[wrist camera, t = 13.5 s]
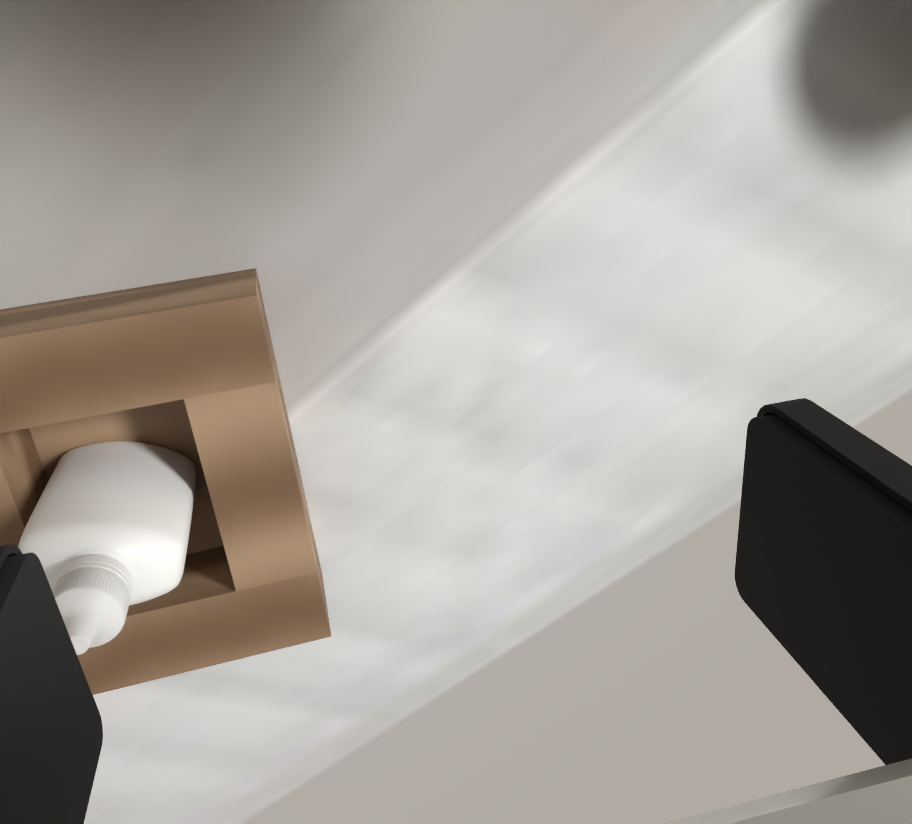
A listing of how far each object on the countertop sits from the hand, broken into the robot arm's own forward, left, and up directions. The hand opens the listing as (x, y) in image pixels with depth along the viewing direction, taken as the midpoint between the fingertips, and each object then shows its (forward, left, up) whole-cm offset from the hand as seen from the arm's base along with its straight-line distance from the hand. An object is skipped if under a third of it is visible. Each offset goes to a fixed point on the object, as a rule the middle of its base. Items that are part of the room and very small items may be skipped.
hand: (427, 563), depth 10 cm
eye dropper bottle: (+9, -10, -25) cm, 28 cm away
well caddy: (+9, -9, -26) cm, 29 cm away
